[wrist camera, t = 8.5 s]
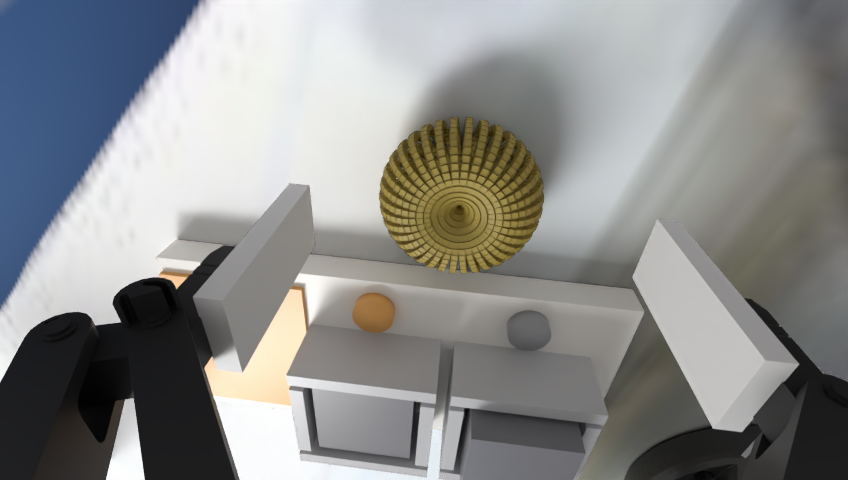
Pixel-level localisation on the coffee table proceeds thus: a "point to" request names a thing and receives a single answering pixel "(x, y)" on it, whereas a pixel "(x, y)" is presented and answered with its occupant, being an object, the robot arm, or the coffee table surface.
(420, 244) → the sculpture
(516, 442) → the block
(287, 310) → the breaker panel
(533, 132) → the coffee table surface
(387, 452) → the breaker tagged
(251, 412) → the coffee table surface
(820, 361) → the coffee table surface
